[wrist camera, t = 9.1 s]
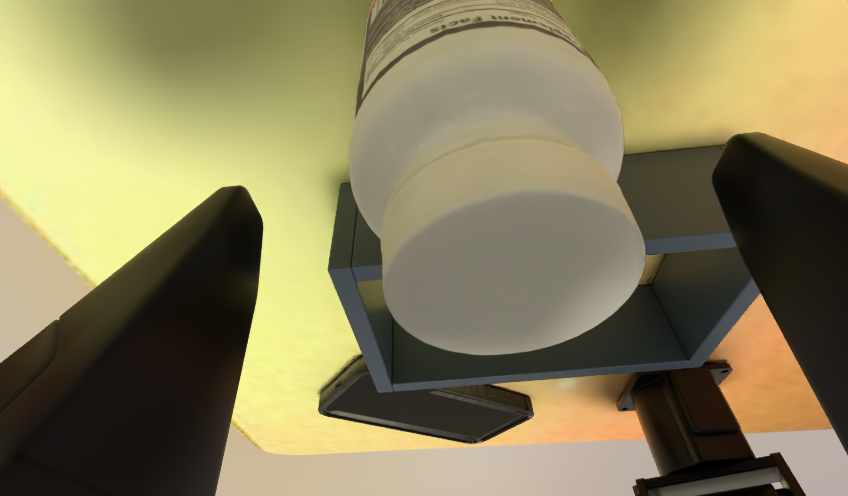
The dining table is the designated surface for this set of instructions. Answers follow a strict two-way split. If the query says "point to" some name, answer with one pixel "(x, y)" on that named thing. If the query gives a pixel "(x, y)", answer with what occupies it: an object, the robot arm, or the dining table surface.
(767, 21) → the dining table surface
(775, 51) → the dining table surface
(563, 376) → the bin
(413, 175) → the pill bottle
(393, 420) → the phone
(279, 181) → the dining table surface
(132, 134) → the dining table surface
